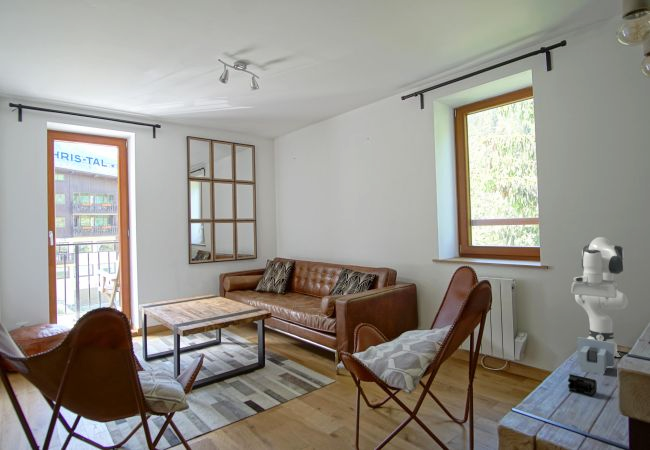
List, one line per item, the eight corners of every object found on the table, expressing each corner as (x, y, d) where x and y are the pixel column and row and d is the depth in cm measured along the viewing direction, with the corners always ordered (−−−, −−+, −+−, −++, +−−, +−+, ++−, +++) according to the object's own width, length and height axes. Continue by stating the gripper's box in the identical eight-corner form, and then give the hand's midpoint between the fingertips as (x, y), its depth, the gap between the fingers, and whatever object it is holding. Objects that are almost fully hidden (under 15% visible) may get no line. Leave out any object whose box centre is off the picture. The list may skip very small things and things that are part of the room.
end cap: (597, 393, 164) (596, 378, 164) (593, 398, 159) (593, 382, 159) (571, 386, 171) (570, 372, 172) (567, 391, 166) (566, 376, 167)
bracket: (590, 358, 197) (590, 347, 197) (597, 359, 195) (597, 348, 195) (589, 361, 193) (588, 349, 193) (596, 362, 191) (595, 350, 191)
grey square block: (578, 361, 207) (578, 337, 207) (614, 368, 196) (613, 342, 196) (573, 369, 195) (573, 342, 195) (611, 376, 184) (610, 349, 184)
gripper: (617, 280, 195) (618, 306, 195) (572, 277, 209) (572, 301, 209) (616, 281, 191) (617, 307, 190) (570, 278, 205) (570, 302, 204)
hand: (593, 304), depth 199 cm, fingers open, 8 cm apart
